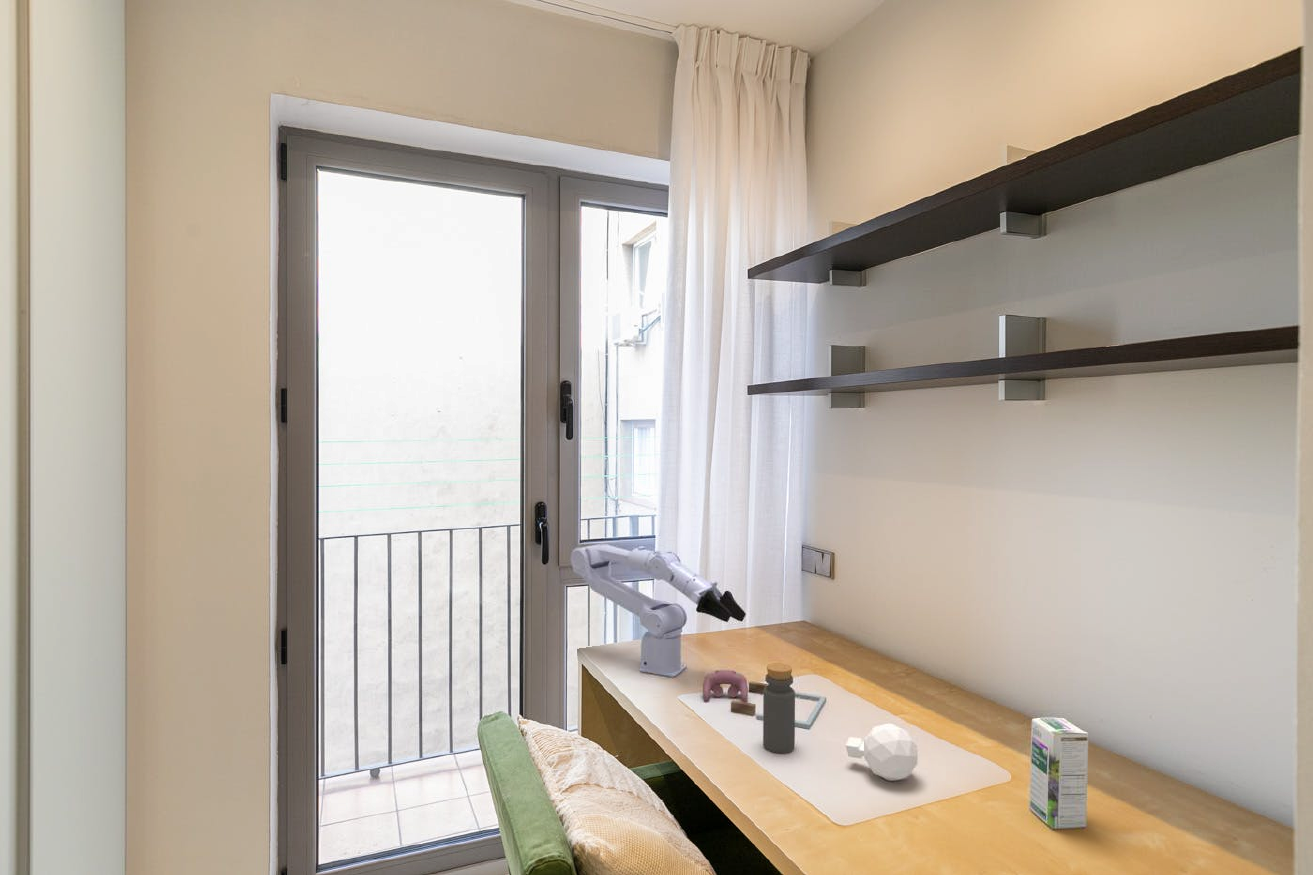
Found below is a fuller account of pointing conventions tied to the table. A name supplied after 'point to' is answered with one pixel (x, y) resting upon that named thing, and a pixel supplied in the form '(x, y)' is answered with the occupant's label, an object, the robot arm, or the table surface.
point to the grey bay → (812, 716)
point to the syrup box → (1058, 773)
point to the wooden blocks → (748, 707)
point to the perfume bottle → (886, 751)
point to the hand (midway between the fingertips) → (736, 617)
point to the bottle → (779, 709)
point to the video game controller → (725, 677)
